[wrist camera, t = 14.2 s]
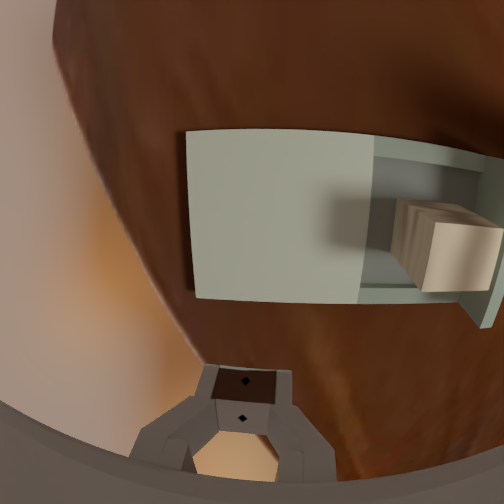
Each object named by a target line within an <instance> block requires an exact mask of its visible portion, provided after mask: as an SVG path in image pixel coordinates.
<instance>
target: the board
mask: <svg viewBox="0 0 504 504" xmlns="http://www.w3.org/2000/svg"><path fill="white" fill-rule="evenodd" d="M186 153H187V180H188V200H189V217H190V232H191V245H192V258H193V269H194V280H195V291H196V298H206V299H222V300H240V301H261V302H287V303H327V304H408V303H445V302H458V303H459V304H460V305H461V306H462V308H463V309H464V310H465V311H466V312H467V314H468V315H469V316H470V317H471V318H472V320H473V321H474V322H475V323H476V325H477V326H478V327H479V328H489V327H492V325H493V322H494V320H495V317H496V314H497V312H498V309H499V306H500V303H501V301H502V298H503V295H504V231H503V236H502V241H501V245H500V250H499V254H498V258H497V262H496V265H495V269H494V273H493V276H492V280H491V283H490V286H489V290H485V291H450V292H421V291H420V290H419V288H418V287H417V286H416V285H415V283H414V282H413V281H412V279H411V278H410V277H409V276H408V274H407V273H406V272H405V270H404V269H403V268H402V267H401V265H400V264H399V263H398V262H397V261H396V259H395V258H394V257H393V256H392V254H391V253H390V248H391V241H392V234H393V227H394V219H395V211H396V202H397V198H402V199H412V200H422V201H432V202H441V203H450V204H458V205H460V206H462V207H464V208H466V209H468V210H470V211H472V212H474V213H476V214H477V215H479V216H481V217H483V218H485V219H487V220H489V221H491V222H493V223H494V224H496V225H498V226H500V227H502V228H503V229H504V159H500V158H496V157H491V156H485V155H481V154H477V153H473V152H469V151H464V150H460V149H455V148H450V147H445V146H440V145H435V144H429V143H423V142H417V141H411V140H405V139H398V138H390V137H383V136H374V135H365V134H355V133H344V132H331V131H315V130H292V129H227V130H204V131H188V132H186Z"/></svg>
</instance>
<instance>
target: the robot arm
mask: <svg viewBox="0 0 504 504" xmlns="http://www.w3.org/2000/svg"><path fill="white" fill-rule="evenodd" d="M219 430H220V431H230V432H242V433H251V434H262V435H267V437H268V438H269V440H270V442H271V443H272V445H273V447H274V448H275V450H276V452H277V453H278V455H279V457H280V459H279V464H278V469H277V474H276V478H275V482H263V481H250V480H239V479H230V478H222V477H215V476H208V475H202V474H197V471H196V468H195V464H194V461H193V458H192V457H193V456H194V455H195V454H196V453H197V452H198V451H199V450H200V449H201V448H202V447H203V446H204V445H206V444H207V443H208V441H210V440H211V439H212V438H213V437H214V436H215V435H216V434H217V433H218V432H219ZM0 504H504V444H503V445H501V446H498V447H496V448H493V449H491V450H488V451H485V452H482V453H479V454H477V455H474V456H471V457H467V458H464V459H461V460H458V461H454V462H451V463H447V464H443V465H440V466H436V467H432V468H427V469H423V470H418V471H414V472H409V473H403V474H398V475H392V476H385V477H378V478H371V479H362V480H352V481H339V482H337V478H336V464H335V452H334V449H333V448H332V446H331V445H330V444H329V443H328V442H327V441H326V440H325V439H324V437H323V436H322V435H321V434H320V433H319V432H318V431H317V429H316V428H315V427H314V426H313V425H312V424H311V422H310V421H309V420H308V419H307V418H306V417H305V415H304V414H303V413H302V412H301V411H300V409H299V408H298V407H297V406H295V405H292V371H291V370H277V371H276V370H270V369H253V368H240V367H231V366H223V365H213V364H206V365H205V366H204V368H203V372H202V374H201V378H200V380H199V383H198V386H197V389H196V392H195V396H189V397H188V398H187V399H185V400H184V401H182V402H181V403H179V404H178V405H177V406H175V407H174V408H172V409H171V410H169V411H168V412H166V413H165V414H163V415H162V416H160V417H159V418H157V419H156V420H154V421H153V422H151V423H150V424H148V425H146V426H145V427H143V428H142V429H141V430H140V433H139V435H138V437H137V439H136V442H135V444H134V446H133V449H132V451H131V453H130V455H129V457H126V456H122V455H119V454H116V453H113V452H110V451H107V450H104V449H101V448H99V447H96V446H93V445H91V444H88V443H85V442H83V441H81V440H78V439H76V438H73V437H71V436H68V435H66V434H64V433H61V432H59V431H57V430H55V429H53V428H51V427H49V426H46V425H45V424H42V423H40V422H38V421H36V420H35V419H33V418H31V417H29V416H27V415H25V414H23V413H21V412H20V411H18V410H16V409H14V408H13V407H11V406H9V405H7V404H6V403H4V402H2V401H1V400H0Z"/></svg>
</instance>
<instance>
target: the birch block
mask: <svg viewBox="0 0 504 504" xmlns="http://www.w3.org/2000/svg"><path fill="white" fill-rule="evenodd" d="M503 231H504V229H503V228H502V227H500V226H498V225H496V224H494V223H493V222H491V221H489V220H487V219H485V218H483V217H481V216H479V215H477V214H476V213H474V212H472V211H470V210H468V209H466V208H464V207H462V206H460V205H458V204H450V203H441V202H432V201H422V200H412V199H402V198H397V202H396V211H395V219H394V227H393V234H392V241H391V248H390V253H391V254H392V256H393V257H394V258H395V259H396V261H397V262H398V263H399V264H400V265H401V267H402V268H403V269H404V270H405V272H406V273H407V274H408V276H409V277H410V278H411V279H412V281H413V282H414V283H415V285H416V286H417V287H418V288H419V290H420V291H421V292H450V291H485V290H489V286H490V283H491V280H492V276H493V273H494V269H495V265H496V262H497V258H498V254H499V250H500V245H501V241H502V236H503Z"/></svg>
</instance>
